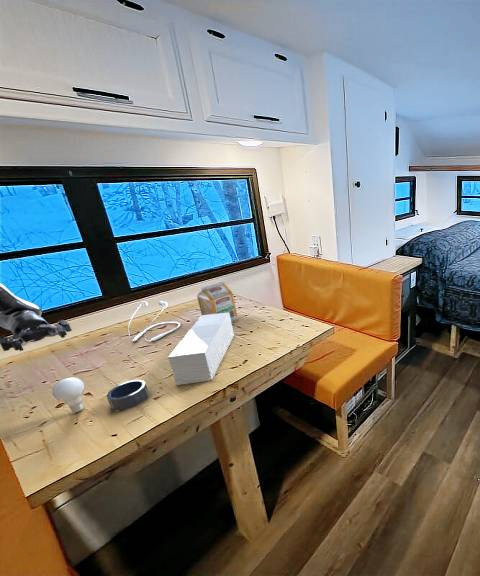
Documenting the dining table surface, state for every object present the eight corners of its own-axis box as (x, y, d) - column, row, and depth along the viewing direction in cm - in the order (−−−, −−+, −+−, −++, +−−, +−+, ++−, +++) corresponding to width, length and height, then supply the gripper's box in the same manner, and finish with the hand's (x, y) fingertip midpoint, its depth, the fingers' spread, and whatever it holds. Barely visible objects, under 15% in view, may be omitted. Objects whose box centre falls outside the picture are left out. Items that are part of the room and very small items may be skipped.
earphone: (116, 338, 122) (135, 298, 131) (146, 351, 137) (161, 314, 146) (149, 338, 122) (165, 298, 131) (175, 351, 136) (189, 314, 145)
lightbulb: (59, 414, 88) (44, 383, 84) (87, 401, 93) (73, 370, 90) (70, 421, 85) (54, 389, 82) (97, 407, 91) (84, 376, 87)
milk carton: (216, 329, 136) (207, 289, 130) (204, 324, 142) (194, 285, 135) (238, 320, 145) (230, 282, 138) (225, 315, 150) (217, 279, 144)
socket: (134, 410, 89) (130, 399, 88) (102, 411, 89) (98, 400, 88) (155, 389, 98) (152, 379, 97) (126, 390, 98) (122, 380, 96)
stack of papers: (207, 338, 129) (201, 315, 125) (234, 335, 131) (229, 312, 127) (176, 385, 100) (167, 357, 96) (211, 380, 102) (204, 352, 98)
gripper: (-11, 325, 90) (-2, 340, 81) (56, 308, 101) (70, 319, 92) (1, 347, 92) (11, 364, 84) (65, 328, 104) (79, 341, 95)
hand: (42, 340), depth 88 cm, fingers open, 8 cm apart
